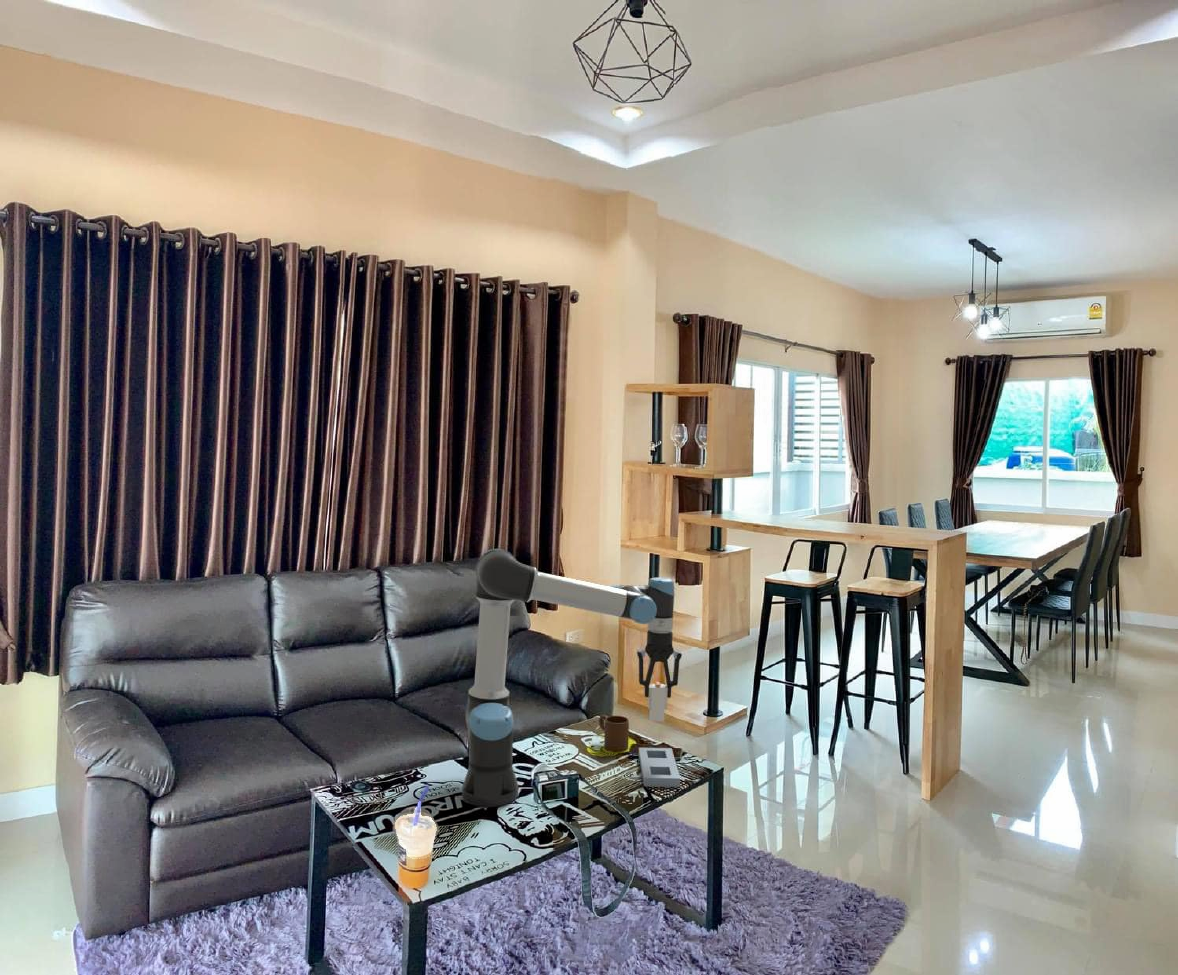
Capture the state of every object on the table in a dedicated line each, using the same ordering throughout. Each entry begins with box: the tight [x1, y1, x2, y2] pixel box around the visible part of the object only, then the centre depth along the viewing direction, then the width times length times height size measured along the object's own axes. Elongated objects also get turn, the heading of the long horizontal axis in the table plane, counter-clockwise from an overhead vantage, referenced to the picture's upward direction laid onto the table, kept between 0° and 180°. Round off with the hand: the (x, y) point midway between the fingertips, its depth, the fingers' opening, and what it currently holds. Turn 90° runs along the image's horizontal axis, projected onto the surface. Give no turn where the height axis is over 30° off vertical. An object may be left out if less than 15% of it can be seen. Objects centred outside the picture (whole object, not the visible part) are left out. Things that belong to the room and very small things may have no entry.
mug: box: [598, 714, 630, 753], centre depth 254 cm, size 12×8×9 cm, turn 39°
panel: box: [638, 747, 681, 788], centre depth 236 cm, size 10×22×3 cm, turn 0°
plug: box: [649, 681, 666, 722], centre depth 240 cm, size 4×4×11 cm
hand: (657, 707), depth 241 cm, fingers closed on plug, 4 cm apart
